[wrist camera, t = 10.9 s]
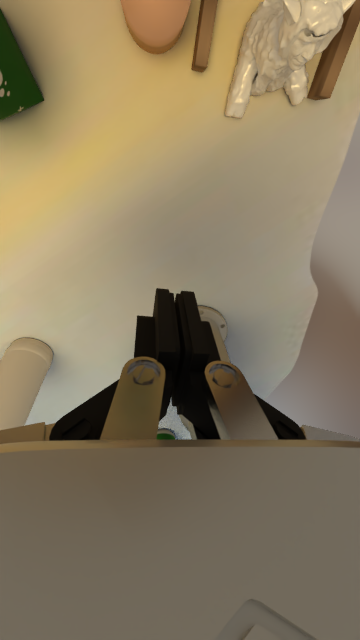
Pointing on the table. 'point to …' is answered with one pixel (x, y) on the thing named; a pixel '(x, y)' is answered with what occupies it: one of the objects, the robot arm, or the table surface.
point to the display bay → (328, 62)
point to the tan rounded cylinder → (155, 22)
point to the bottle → (21, 379)
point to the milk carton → (14, 76)
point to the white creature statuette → (282, 48)
